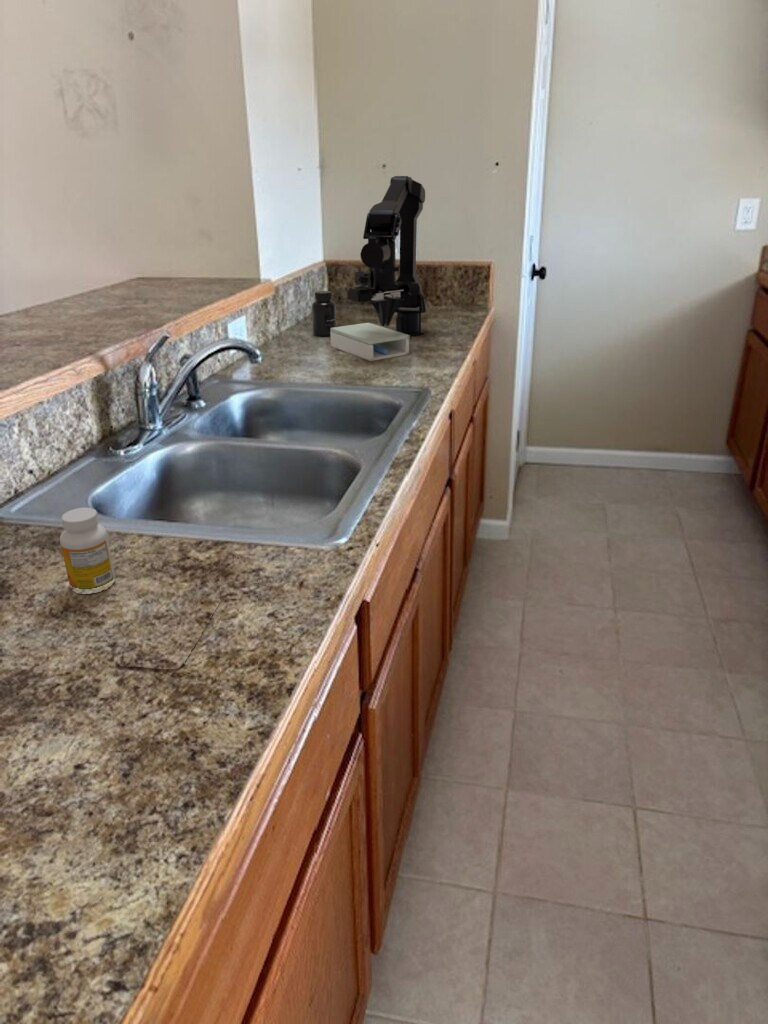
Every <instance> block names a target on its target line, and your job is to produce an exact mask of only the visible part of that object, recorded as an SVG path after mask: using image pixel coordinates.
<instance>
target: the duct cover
mask: <svg viewBox="0 0 768 1024" xmlns="http://www.w3.org/2000/svg"><path fill="white" fill-rule="evenodd" d="M331 331H332V332H335V333H338V334H341V335H344V336H347V337H349V338H352V339H355V340H358V341H361V342H364V343H367V344H375V343H382V342H388V341H394V340H400V339H407V338H408V339H410V337H411V336H410V335H407V334H404V333H401V332H397V331H396V330H394V329H391V328H387V327H385V326H381V325H377V324H374V323H371V322H365V323H357V324H349V325H341V326H336V327H334V328H331Z"/></svg>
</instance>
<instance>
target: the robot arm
mask: <svg viewBox="0 0 768 1024" xmlns="http://www.w3.org/2000/svg"><path fill="white" fill-rule="evenodd" d="M389 183H390V185H389V187H388V188H387V191H386V192H385V194H384V196H383V198H382V200H381V202H379V203H375V204H374V205H373V206H372V207H371V208H370V209H369V211H368V212H367V215H366V219H365V226H364V231H363V235H362V238H363V240H367V243H365V244H364V245H363V246H362V248H361V251H360V259H361V261H362V263H363V265H364V266H365V267H368V268H369V269H368V271H369V272H368V273H365V272H364V270H361V271H356V272H354V283H355V286H351V287H349V289H348V290H347V300H350V301H353V302H357V303H364V302H369V303H371V305H372V306H373V308H374V310H375V312H376V315H377V318H378V320H379V324H380V326H381V327H385V326H386V327H387V326H388V327H389V326H390V323H391V321H392V320H393V317H394V316H395V315H394V314H395V313H396V316H397V317H396V318H395V331H397V332H401V333H404V334H407V335H410V337H411V336H416V335H423V334H425V331H422V314H424V313H426V312H427V304H426V300H425V296H424V292H423V290H422V284H421V281H420V279H419V278H418V276H417V275H416V274H417V224H418V222H417V220H418V219H419V216H420V215H421V213H422V212H423V208H424V204H425V200H426V189H425V188H424V186H423V184H422V183H420V182H418V181H415V180H414V179H413V178H412V177H411V176H408V175H395V176H392V177H391V178H390V182H389ZM398 236H399V266H396V264H397V263H396V261H397V260H396V240H397V237H398ZM397 272H399V274H398V275H399V276H398V278H397V277H396V276H397V274H396V273H397Z"/></svg>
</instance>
